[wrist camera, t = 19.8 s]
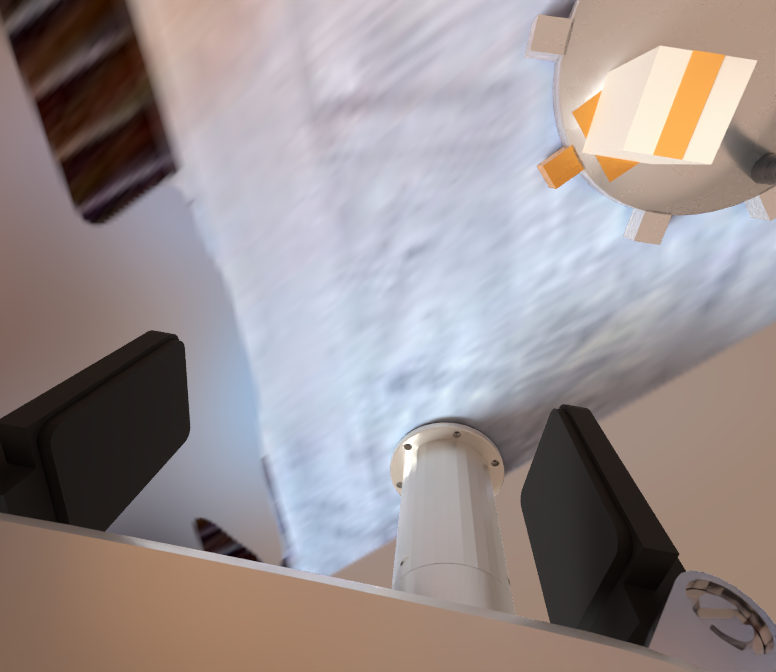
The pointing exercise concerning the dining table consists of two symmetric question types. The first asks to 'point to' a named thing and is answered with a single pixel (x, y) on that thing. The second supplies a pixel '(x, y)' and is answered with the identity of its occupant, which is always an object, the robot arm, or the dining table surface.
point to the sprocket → (630, 40)
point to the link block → (668, 106)
